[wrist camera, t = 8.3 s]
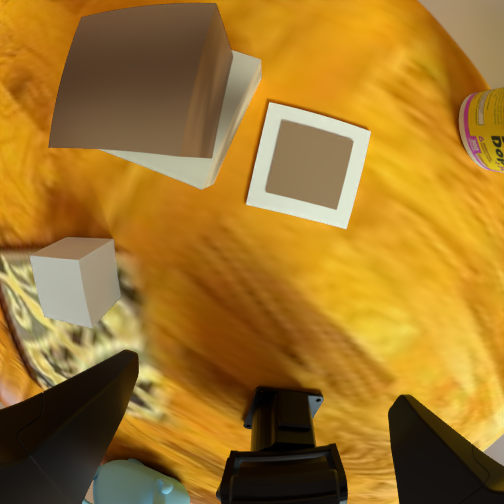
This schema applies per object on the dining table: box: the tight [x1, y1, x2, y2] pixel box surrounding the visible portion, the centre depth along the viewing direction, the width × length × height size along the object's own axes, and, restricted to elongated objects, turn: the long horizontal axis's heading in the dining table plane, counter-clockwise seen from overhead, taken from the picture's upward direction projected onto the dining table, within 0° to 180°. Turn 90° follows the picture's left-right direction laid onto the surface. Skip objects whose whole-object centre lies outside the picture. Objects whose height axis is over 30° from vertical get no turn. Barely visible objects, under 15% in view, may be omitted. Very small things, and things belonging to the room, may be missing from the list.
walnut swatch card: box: [246, 102, 371, 229], centre depth 17 cm, size 7×7×1 cm
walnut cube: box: [48, 3, 233, 159], centre depth 11 cm, size 6×6×6 cm
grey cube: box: [30, 237, 121, 328], centre depth 18 cm, size 5×5×5 cm
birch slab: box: [98, 50, 262, 190], centre depth 15 cm, size 8×8×4 cm
